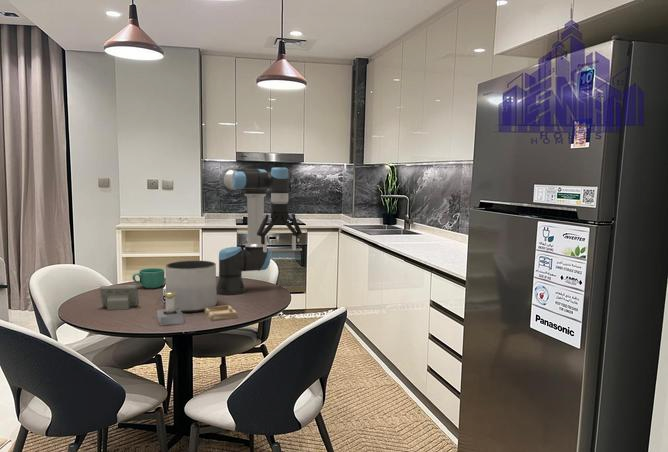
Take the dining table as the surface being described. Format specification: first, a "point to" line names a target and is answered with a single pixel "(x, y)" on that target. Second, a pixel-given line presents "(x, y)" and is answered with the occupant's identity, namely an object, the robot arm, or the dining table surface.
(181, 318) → the block
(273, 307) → the dining table surface
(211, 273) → the planter
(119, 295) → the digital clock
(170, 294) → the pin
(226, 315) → the tray
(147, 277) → the mug
